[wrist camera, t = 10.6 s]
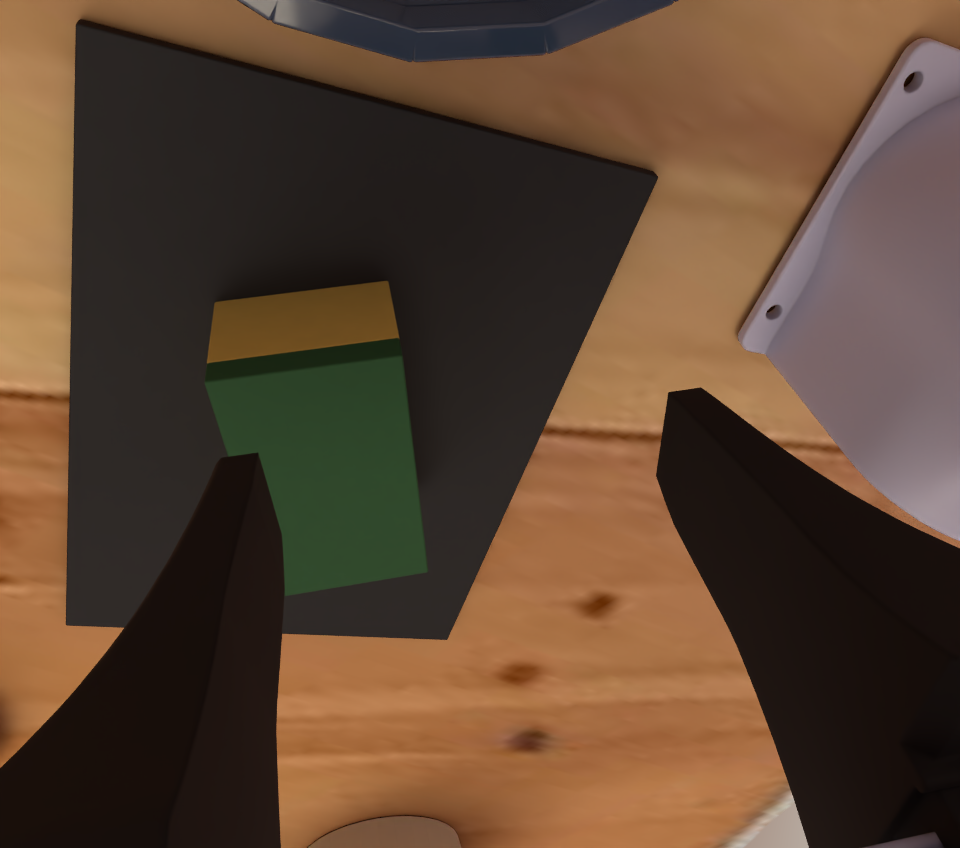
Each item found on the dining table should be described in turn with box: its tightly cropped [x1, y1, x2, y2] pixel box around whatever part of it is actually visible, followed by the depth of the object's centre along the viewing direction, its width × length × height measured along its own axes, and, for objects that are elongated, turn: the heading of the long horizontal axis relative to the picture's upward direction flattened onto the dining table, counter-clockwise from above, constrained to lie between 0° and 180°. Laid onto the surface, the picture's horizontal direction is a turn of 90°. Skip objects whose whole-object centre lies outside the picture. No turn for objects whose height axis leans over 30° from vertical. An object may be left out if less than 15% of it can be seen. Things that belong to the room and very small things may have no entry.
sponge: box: [204, 281, 428, 596], centre depth 23 cm, size 8×5×4 cm, turn 2°
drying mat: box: [66, 20, 658, 640], centre depth 25 cm, size 20×14×1 cm
